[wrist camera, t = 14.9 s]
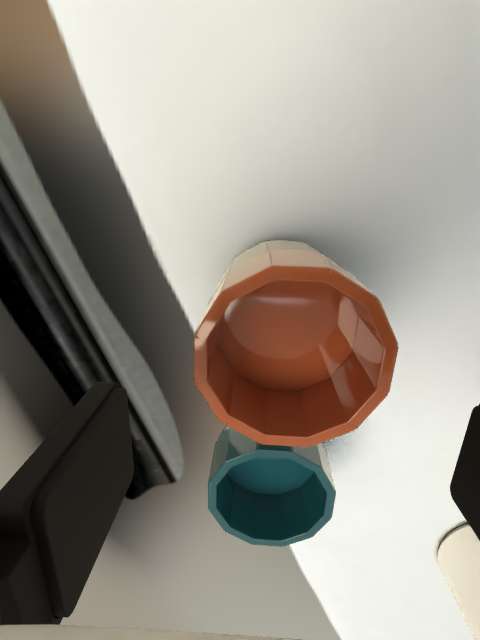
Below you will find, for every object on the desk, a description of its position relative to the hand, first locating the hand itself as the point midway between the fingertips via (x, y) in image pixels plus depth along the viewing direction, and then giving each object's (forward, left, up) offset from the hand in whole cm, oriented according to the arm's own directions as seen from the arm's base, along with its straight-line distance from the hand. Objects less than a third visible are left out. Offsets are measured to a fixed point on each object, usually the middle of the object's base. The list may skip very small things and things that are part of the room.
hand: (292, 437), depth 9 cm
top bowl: (+10, 0, -13) cm, 16 cm away
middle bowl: (0, 0, -9) cm, 9 cm away
